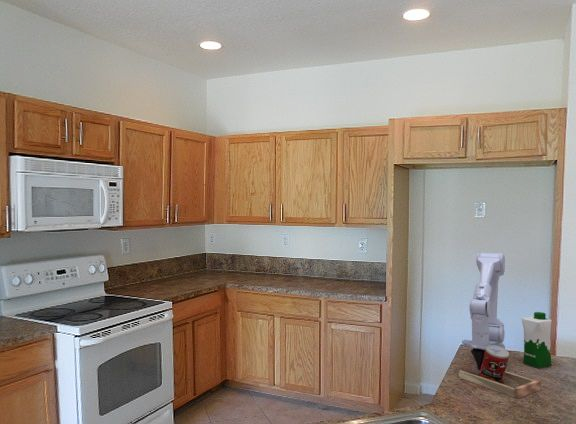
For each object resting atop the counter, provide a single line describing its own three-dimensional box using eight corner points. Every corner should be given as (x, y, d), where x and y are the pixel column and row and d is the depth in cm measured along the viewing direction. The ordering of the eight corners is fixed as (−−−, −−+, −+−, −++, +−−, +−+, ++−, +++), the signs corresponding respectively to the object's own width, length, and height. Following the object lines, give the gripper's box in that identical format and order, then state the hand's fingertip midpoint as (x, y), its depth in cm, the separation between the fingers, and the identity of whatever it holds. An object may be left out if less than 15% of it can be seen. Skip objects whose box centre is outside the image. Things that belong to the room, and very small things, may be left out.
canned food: (477, 378, 161) (483, 351, 158) (481, 368, 168) (488, 342, 165) (500, 387, 157) (507, 359, 154) (504, 377, 164) (510, 350, 161)
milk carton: (555, 366, 176) (554, 314, 176) (539, 369, 173) (538, 317, 173) (534, 359, 184) (533, 310, 184) (519, 363, 181) (518, 312, 181)
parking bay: (481, 370, 173) (481, 362, 173) (541, 389, 154) (541, 380, 154) (458, 377, 166) (458, 369, 166) (518, 398, 147) (517, 389, 147)
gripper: (456, 329, 170) (457, 366, 170) (491, 338, 157) (492, 377, 157) (468, 327, 174) (469, 362, 174) (503, 335, 161) (504, 373, 161)
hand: (481, 369), depth 166 cm, fingers closed
